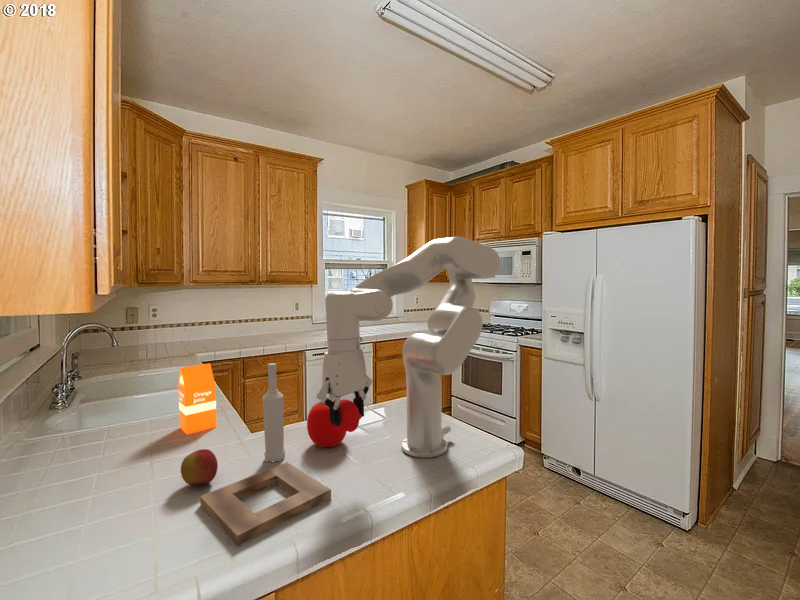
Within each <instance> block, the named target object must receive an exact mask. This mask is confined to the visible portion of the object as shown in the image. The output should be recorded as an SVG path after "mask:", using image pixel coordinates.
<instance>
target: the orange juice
mask: <svg viewBox="0 0 800 600" xmlns="http://www.w3.org/2000/svg"><path fill="white" fill-rule="evenodd" d="M177 388H178V389H177V390H178V409H179V427H180V429H181V430H182V432H183V433H184V434H186V435H190V434H194V433H199V432H202V431H206V430H210V429H213V428H217V427H218V425H217V401H216V400H217V399H216V382H215V377H214V374H213V369H212V365H211V363H202V364H196V365H191V366H182V367H180V369H179V377H178V387H177Z"/></svg>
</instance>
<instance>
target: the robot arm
mask: <svg viewBox="0 0 800 600" xmlns="http://www.w3.org/2000/svg"><path fill="white" fill-rule="evenodd" d="M501 265H502V261H501V257H500V255H499V253H498V252H497V251H496V250H495V249H493V248H492V247H490V246H487V245H485V244H482V243H480V242H477V241H476V240H472V239H469V238H467V237H463V236H450V237H449V236H448V237H441V238H435V239H432V240H431V241H428V242H427V243H425V244H424V245H423V246H422V247H420V248H418V249H417V250H416V251H414V252H413V253H412V254H410V255H409V256H407V257H406V258H404V259H402V260H401V261H399V262H398V263H395V264H393V265H390V266H389V267H387V268H385V269H382V270H381V271H379V272H377V273H375V274H373V275H371V276H369V277H367V278H366V279H364V280H363V281H360V283H358V284H357V285H355V286H354V287H353V288H351V289H350V290H348V291H335V292H329V293H327V295H326V297H325V301H324V302H325V321H326V337H327V338H326V340H327V351H326V352H324V357H323V362H322V372H321V373H322V374H321V375H322V381H321V383H322V384H321V385H322V386H321V389H320V390H319V391H318V393H317V394H316V398H317V400H319V402H323V403H324V404H325V405H326V406H327V407H329V413H330V422H331V424H334V425H336V426H340V425H341V414H340V409H339V408H338V405H339V402H340V400H341V398H342V397H344V396H346V395H350V394H353V396H354V397H353V398H352V399H353V400H352V402H353V403H354V404H355V405H356V406H357V408H358V410H359V414H360V415H362V417H361V418H363V417H365V402H364V401H365V400H366V397H367V396H366V395H367V394H368V391H369V390H370V389H369V388H370V387H371V386H372V383H373V379H372V378H370V377H369V375H367V368H366V362H365V360H366V359H365V355H364V351H363V348H362V347H361V343H362V342H363V341H364V340H363V337H362V336H360V322H361V321H362V322H363V321H365V322H367V321H368V322H369V321H370V322H378V321H382V320H384V319H386V318H388V317H389V316H390V314H391V313H392V311H393V308H394V307H393V305H394V303H393V299H392V298H391V297H393V296H398V295H401V294H407V293H410V292H415V291H417V290H419V289H420V288H422V287H423V286H424V285H426V284H427V283H429V281H431V280H432V279H434V278H435V277H436V276H437V275H439V274H441V272H442V271H445V270H447V273H448V280H449V285H448V289H447V290H446V292H445V294H444V295H443V297H442V298H441V299H440V301H439V302H438V304H437V305H436V307H434V309H433V311H432V312H431V313H430V315H429V317H428V319H427V328H428V330H429V332H430V333H426V332H425V333H424V332H419V333H417V332H415V333H413V334H411V335H409V336H408V337H407V338H406V340H405V341H404V343H403V345H402V352H401V353H402V359H403V364H404V370H405V378H406V380H405V381H406V382H405V383H406V438H404V439H403V440H402V441H401V449H402V451H403V452H404V453H406V454H407V455H409V456H411V457H416V458H424V459H425V458H434V457H435V458H437V457H439V456H441V455H443V454H445V453H446V452H447V450H448V442H447V441H446V439H444V437H445V435H446V434H448V433H450V432H451V431H452V430H451V429H452V428H451V427H450V425H445V426H443V427H442V425H443V424H442V422H443V421H442V417H443V416H442V410H443V409H442V381H441V380H442V379H441V377H440V375H443V376H449V375H452V374H454V373H455V372H457V370H459V368H460V367H461V366H462V364H463V363H464V361H465V360H466V359H467V357H468V355H469V354H470V352H471V350H472V349H473V348H474V346H475V345H476V343H477V342H478V339H479V338H480V336H481V333H482V330H483V317H482V314H481V313H480V312H479V310H478V309H477V308H474V307H473V306H474V305H475V301H476V292H475V289H474V286H473V281H472V280H479V279H480V280H481V279H483V280H484V279H485V280H486V279H491V278H494V277H495V276H496V275H497V274H498V273H499V271H500V270H501V267H502V266H501ZM327 395H328V397H327ZM333 401H334V402H333Z"/></svg>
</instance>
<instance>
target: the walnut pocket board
mask: <svg viewBox="0 0 800 600" xmlns="http://www.w3.org/2000/svg"><path fill="white" fill-rule="evenodd" d="M274 484H276V485H277V484H278V487H280V486H281V487H280V488H282V489H283V490H284V491H286V492H287V493H288V494H290V496H289V497H287V498H284V499H282V500H279V501H277V502H276V503H274V504H271V505H269V506H267V507H265V508H263V509H261V510H258V511H257V512H253V511H252V510H251V509H250V508H249V507H248V506H247V505H245V503H243V502H242V501H241V500H242V498H243V499H245V498H247V496H248V497H249V495H250V496H253V495H254V493H255V494H257V493H259V492H261V490H262V491H264V490H266V489H268V488H267V487H269V486H271V487H273V486H275V485H274ZM272 485H273V486H272ZM265 488H266V489H265ZM269 488H270V487H269ZM263 489H264V490H263ZM258 491H259V492H258ZM256 492H257V493H256ZM244 497H245V498H244ZM240 499H241V500H240ZM199 500H200V507H201V508H202V509H203V510H204V511H205V512H206V513H207V514H208V516H209V517H210V518H211V519H212V521H214V522H215V523H216V524H217V525H218V527H219V528H220V529H221V530H222V531H223V532H224V533H225V535H226V536H227V537H228V538H229V539H230V540H231V541H232V543H234V544H235V546H236V547H240V546H242V545H244V544H246V543H248V542H250V541H251V540H253V539H256V538H257V537H259V536H261V535H264V534H265V533H267V532H269V531H271V530H273V529H275V528H277V527H279V526H280V525H282V524H285V523H287V522H289V521H291V520H292V519H294V518H296V517H298V516H300V515H302V514H304V513H306V512H308V511H310V510H311V509H313V508H315V507H318V506H319V505H321V504H323V503H325V502H327V501H329V500H332V489H331V488H330V487H328V486H326V484H325V485H324V484H323V483H321V482H320V481H318V480H317V479H315V478H313V477H312V476H310V475H309V474H308V473H305V472H304V471H303V470H301V469H299V468H297V467H296V466H294V465H292V464H291V463H289V462H288V461H287V462H283V463H281V464H279V465H276V466H274V467H272V468H268V469H266V470H264V471H261V472H259V473H256V474H254V475H251V476H248V477H245V478H243V479H241V480H238V481H236V482H235V481H234V482H232V483H231V484H228V485H225V486H223V487H219V488H218V489H216V490H213V491H210V492H207V493H205V494H202V495H200V498H199Z"/></svg>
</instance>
